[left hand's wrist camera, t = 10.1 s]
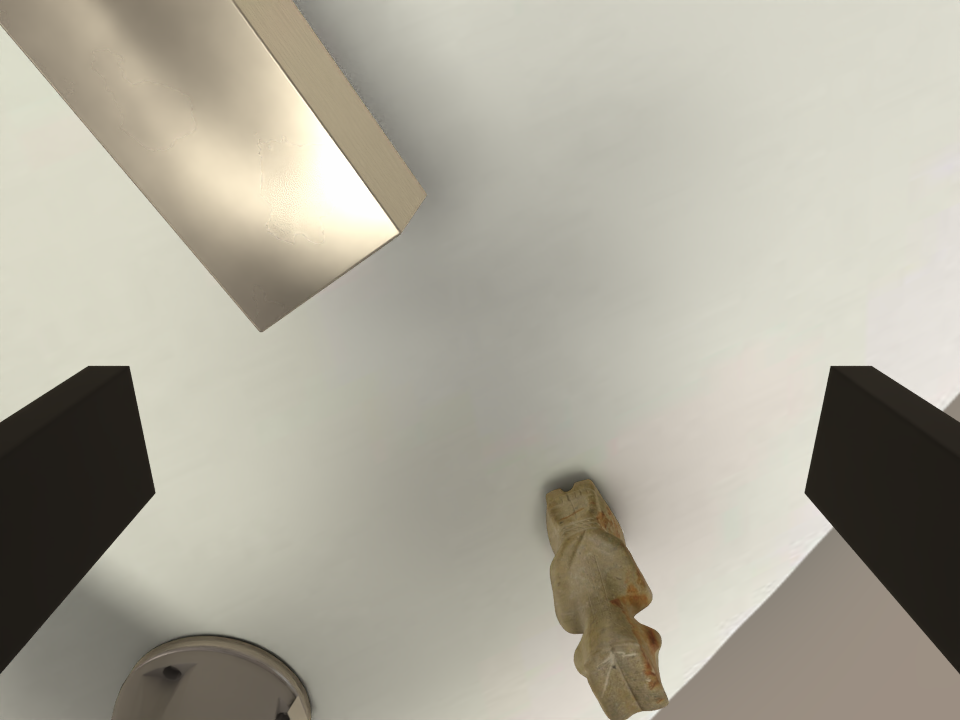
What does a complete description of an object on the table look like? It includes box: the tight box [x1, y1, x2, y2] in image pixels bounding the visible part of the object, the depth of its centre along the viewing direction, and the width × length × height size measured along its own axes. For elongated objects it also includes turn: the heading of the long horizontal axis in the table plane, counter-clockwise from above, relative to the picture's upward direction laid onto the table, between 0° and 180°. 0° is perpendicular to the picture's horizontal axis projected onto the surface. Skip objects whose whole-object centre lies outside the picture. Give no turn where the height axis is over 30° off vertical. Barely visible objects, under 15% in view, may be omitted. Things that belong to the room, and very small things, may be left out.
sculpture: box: [546, 479, 669, 720], centre depth 40 cm, size 6×7×15 cm
